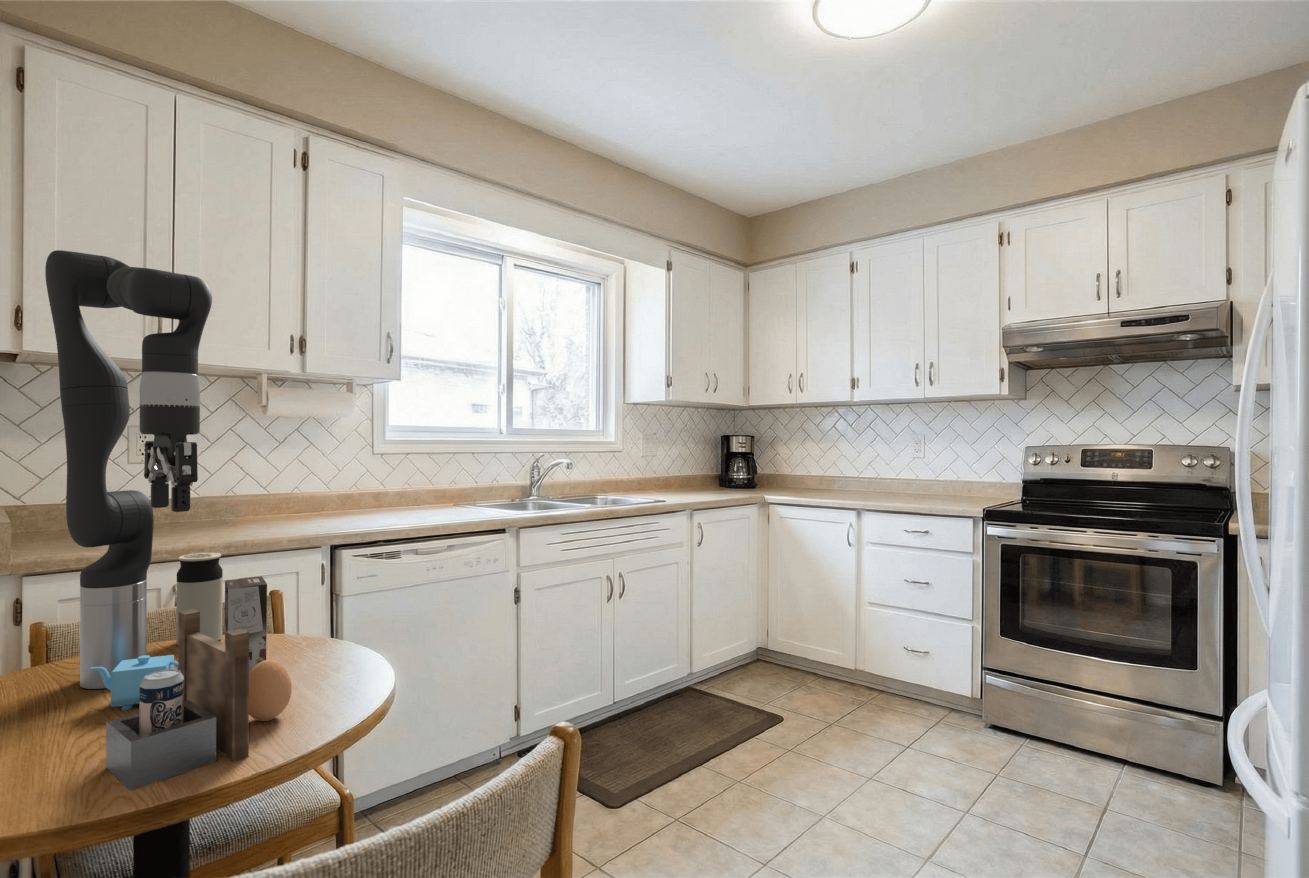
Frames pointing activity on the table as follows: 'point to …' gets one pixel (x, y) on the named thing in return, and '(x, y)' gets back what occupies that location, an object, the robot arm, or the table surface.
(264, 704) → the egg
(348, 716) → the table surface
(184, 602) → the travel mug
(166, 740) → the post bracket
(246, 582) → the coffee box
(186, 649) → the headboard panel
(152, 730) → the beer can
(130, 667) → the teapot
